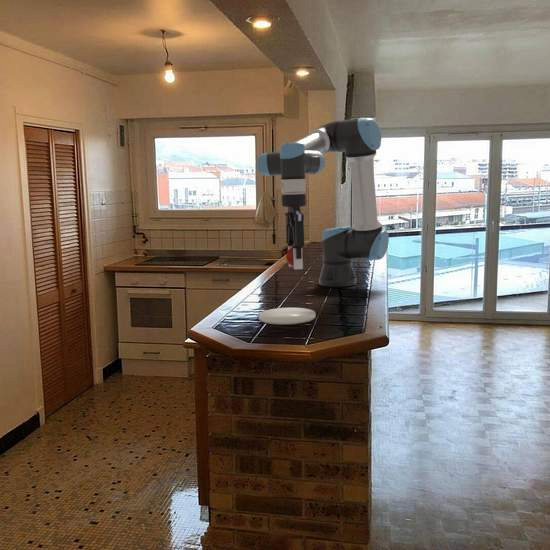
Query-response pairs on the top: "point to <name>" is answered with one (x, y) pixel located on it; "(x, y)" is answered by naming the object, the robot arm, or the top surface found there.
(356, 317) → the top surface
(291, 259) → the onion
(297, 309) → the plate
